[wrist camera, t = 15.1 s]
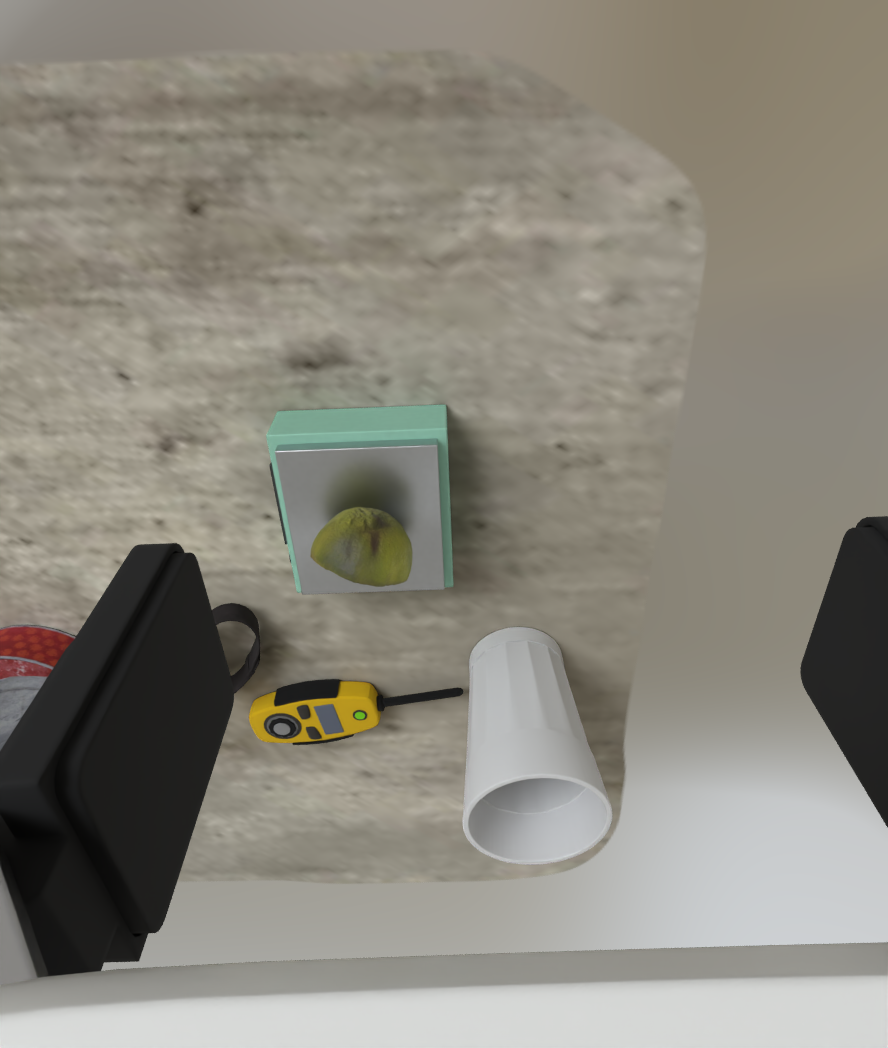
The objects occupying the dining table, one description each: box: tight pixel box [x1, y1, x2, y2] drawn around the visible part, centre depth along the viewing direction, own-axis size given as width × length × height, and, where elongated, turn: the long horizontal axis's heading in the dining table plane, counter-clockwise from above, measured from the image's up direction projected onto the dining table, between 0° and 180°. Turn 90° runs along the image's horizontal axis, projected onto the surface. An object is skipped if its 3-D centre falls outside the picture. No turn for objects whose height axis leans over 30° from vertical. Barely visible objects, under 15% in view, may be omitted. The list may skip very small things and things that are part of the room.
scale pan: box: [275, 438, 445, 594], centre depth 37 cm, size 9×8×1 cm
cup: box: [463, 627, 612, 865], centre depth 42 cm, size 8×8×12 cm
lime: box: [310, 507, 413, 587], centre depth 34 cm, size 4×5×5 cm
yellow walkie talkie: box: [249, 679, 463, 745], centre depth 48 cm, size 5×2×15 cm
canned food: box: [0, 625, 76, 750], centre depth 45 cm, size 11×10×10 cm
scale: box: [266, 405, 453, 593], centre depth 38 cm, size 10×9×3 cm
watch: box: [212, 603, 260, 693], centre depth 44 cm, size 8×5×4 cm, turn 157°
